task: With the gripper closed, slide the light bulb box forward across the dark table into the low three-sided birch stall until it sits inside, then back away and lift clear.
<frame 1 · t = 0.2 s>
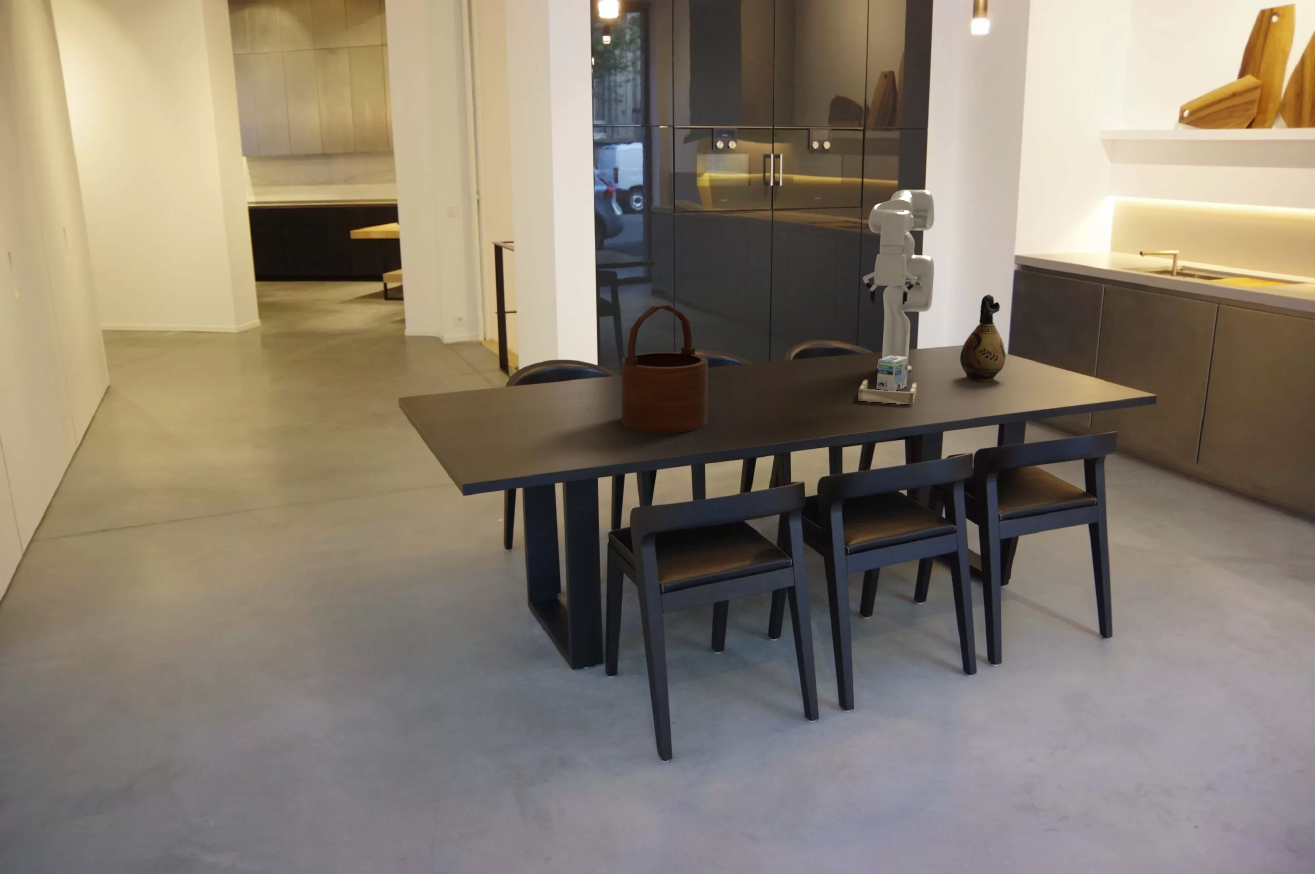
hand: (888, 303, 336), 31 cm above the table, tool pointing down, fingers open, 9 cm apart
wooden bucket: (664, 423, 309), on the table
light bulb box: (891, 389, 353), on the table
ceramic jug: (980, 379, 369), on the table
birch stall: (887, 397, 340), on the table
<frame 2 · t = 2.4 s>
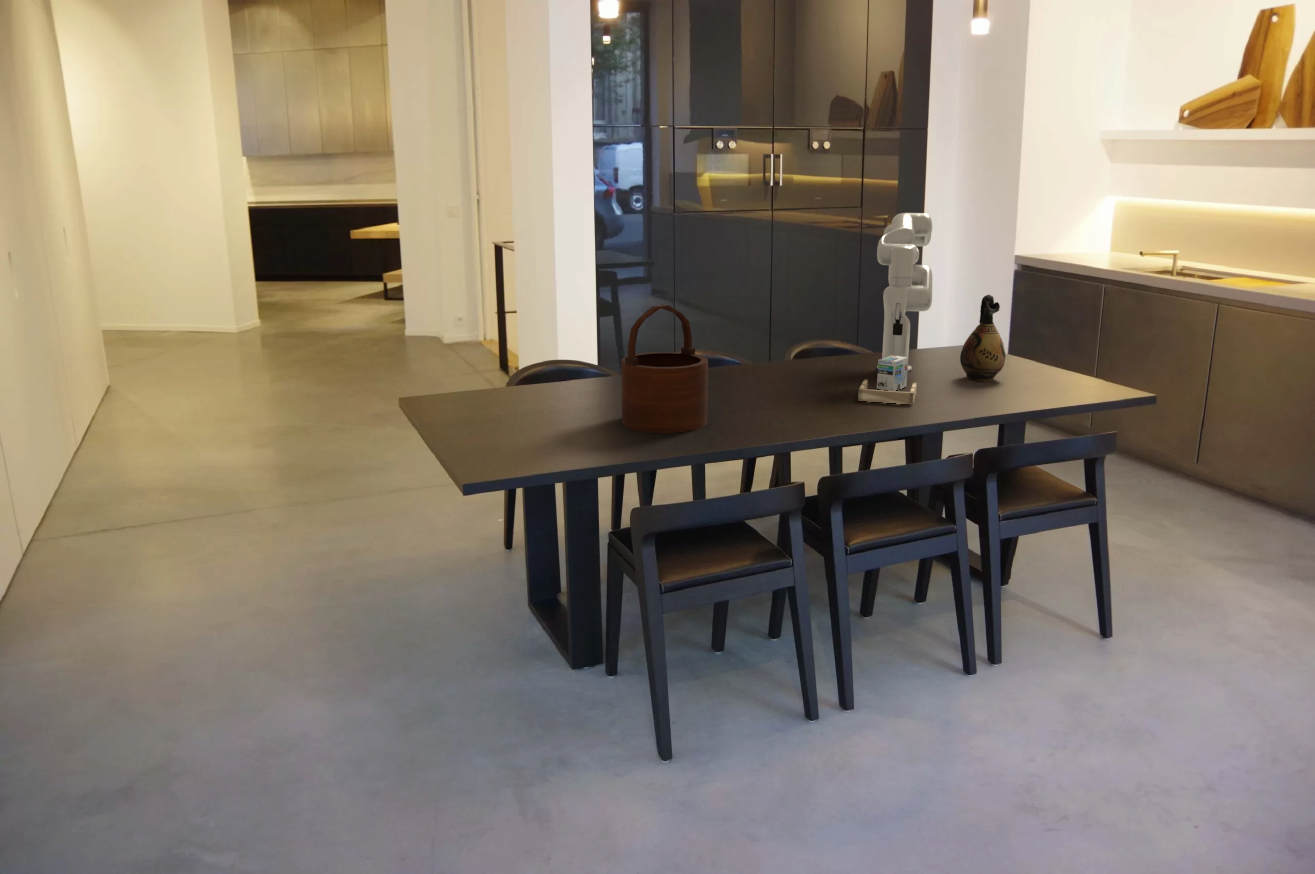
hand: (897, 334, 359), 17 cm above the table, tool pointing down, fingers closed
nothing on the table moved.
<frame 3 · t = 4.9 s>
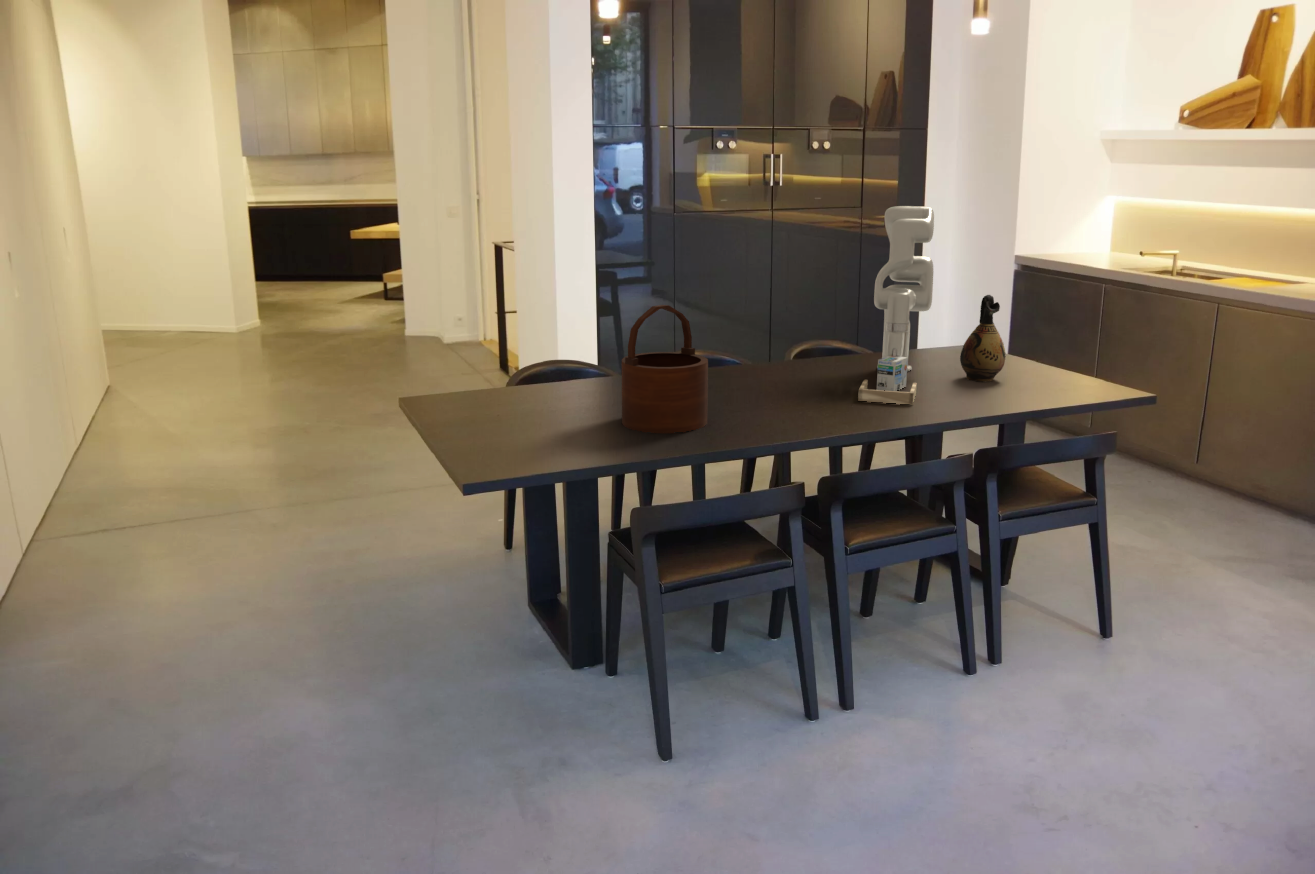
hand: (894, 379, 361), 2 cm above the table, tool pointing down, fingers closed
light bulb box: (891, 389, 353), on the table, touching gripper
everything else where it was.
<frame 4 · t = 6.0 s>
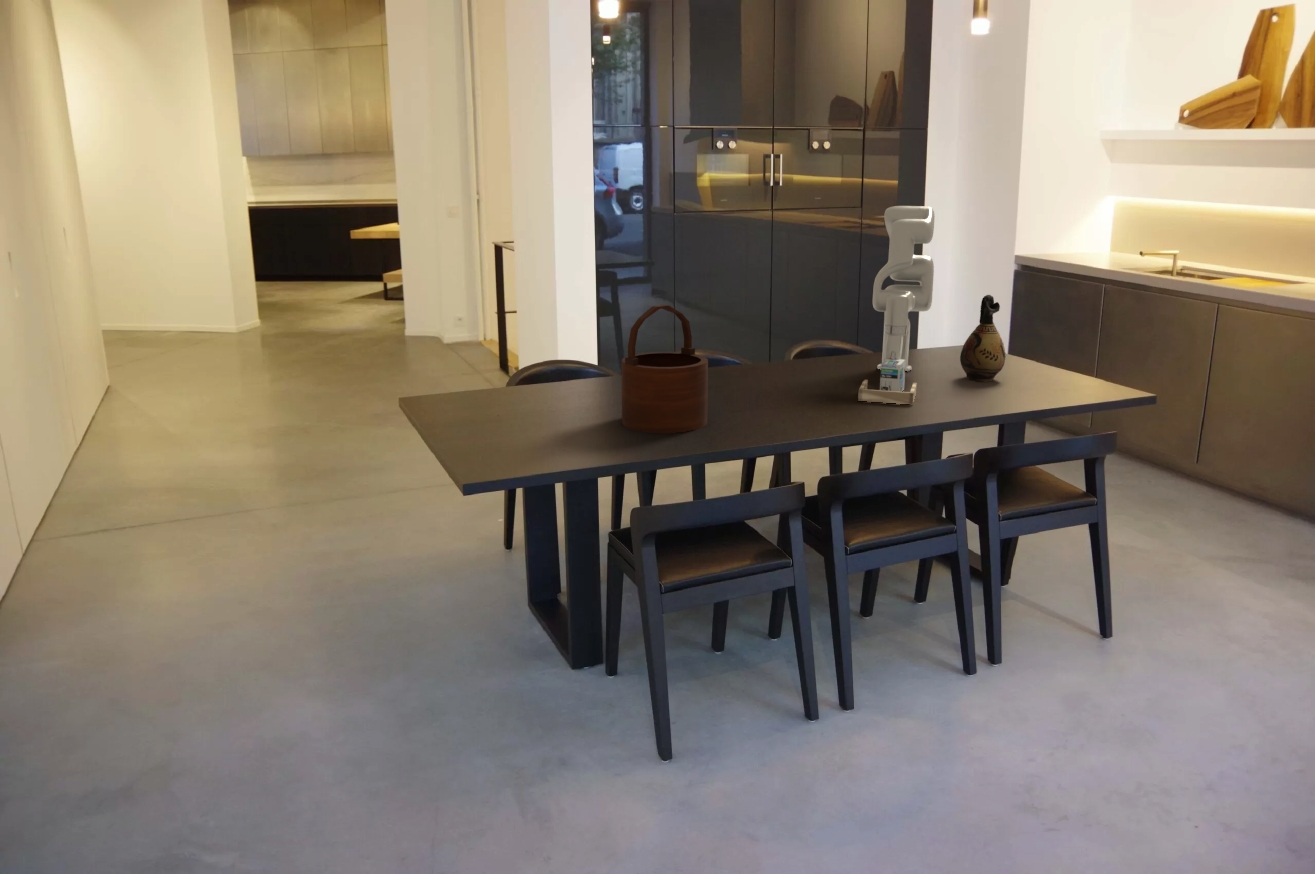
hand: (892, 382, 355), 2 cm above the table, tool pointing down, fingers closed
light bulb box: (891, 393, 348), on the table, touching gripper
everything else where it was.
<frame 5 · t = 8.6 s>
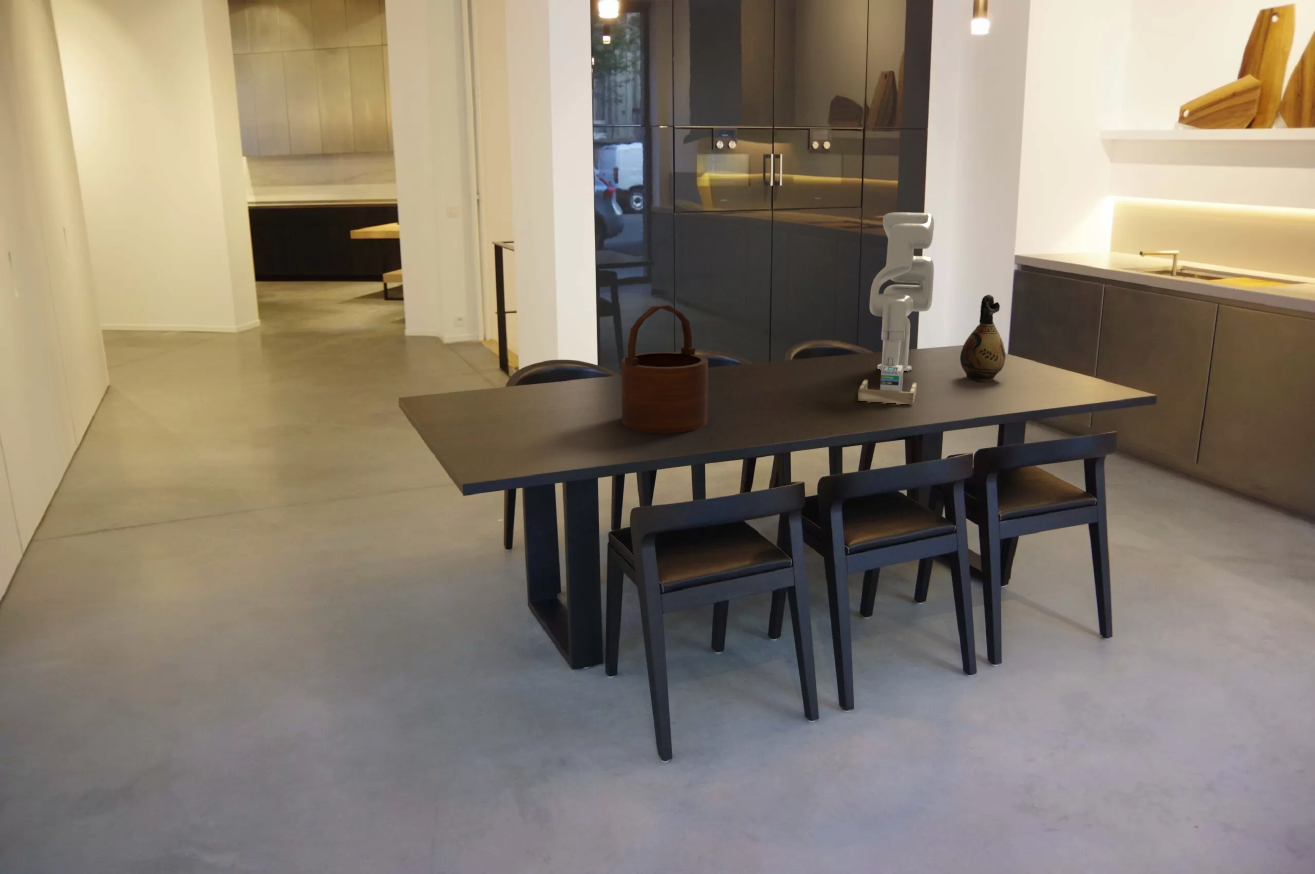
hand: (889, 389, 346), 2 cm above the table, tool pointing down, fingers closed
light bulb box: (890, 399, 338), resting in birch stall, touching gripper
everything else where it was.
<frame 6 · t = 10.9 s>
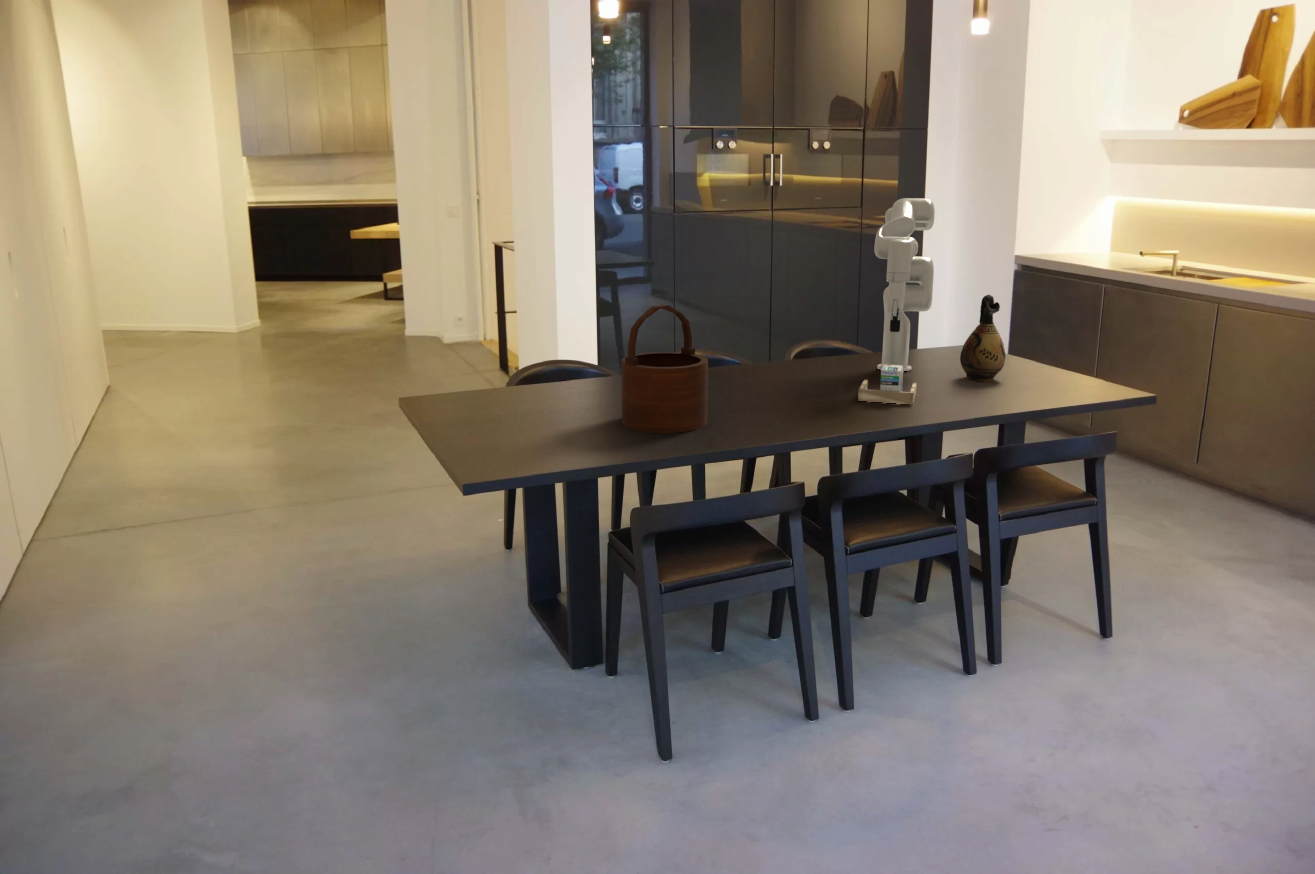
hand: (894, 331, 347), 20 cm above the table, tool pointing down, fingers closed
light bulb box: (890, 400, 338), resting in birch stall
everything else where it was.
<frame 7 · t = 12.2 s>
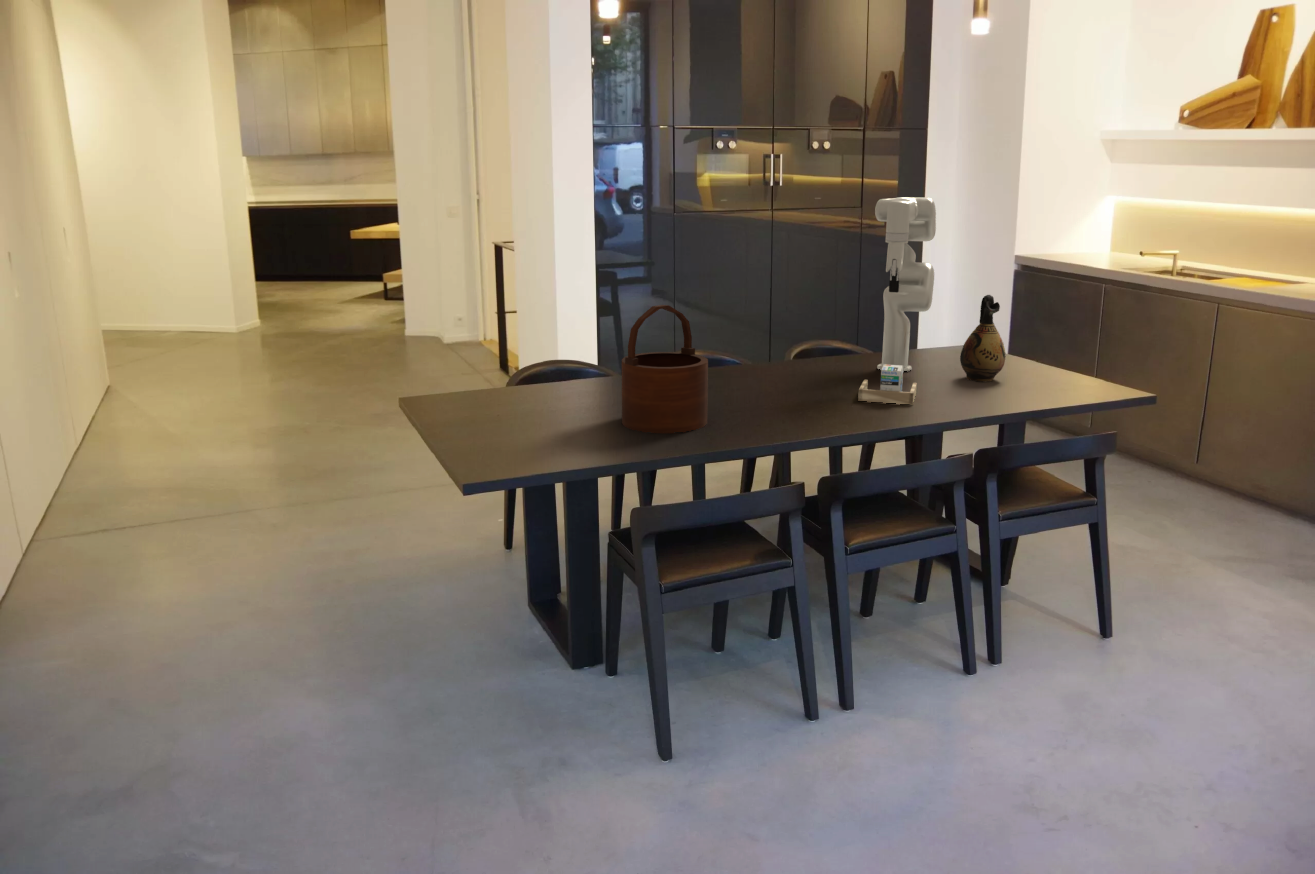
hand: (893, 292, 354), 32 cm above the table, tool pointing down, fingers closed
nothing on the table moved.
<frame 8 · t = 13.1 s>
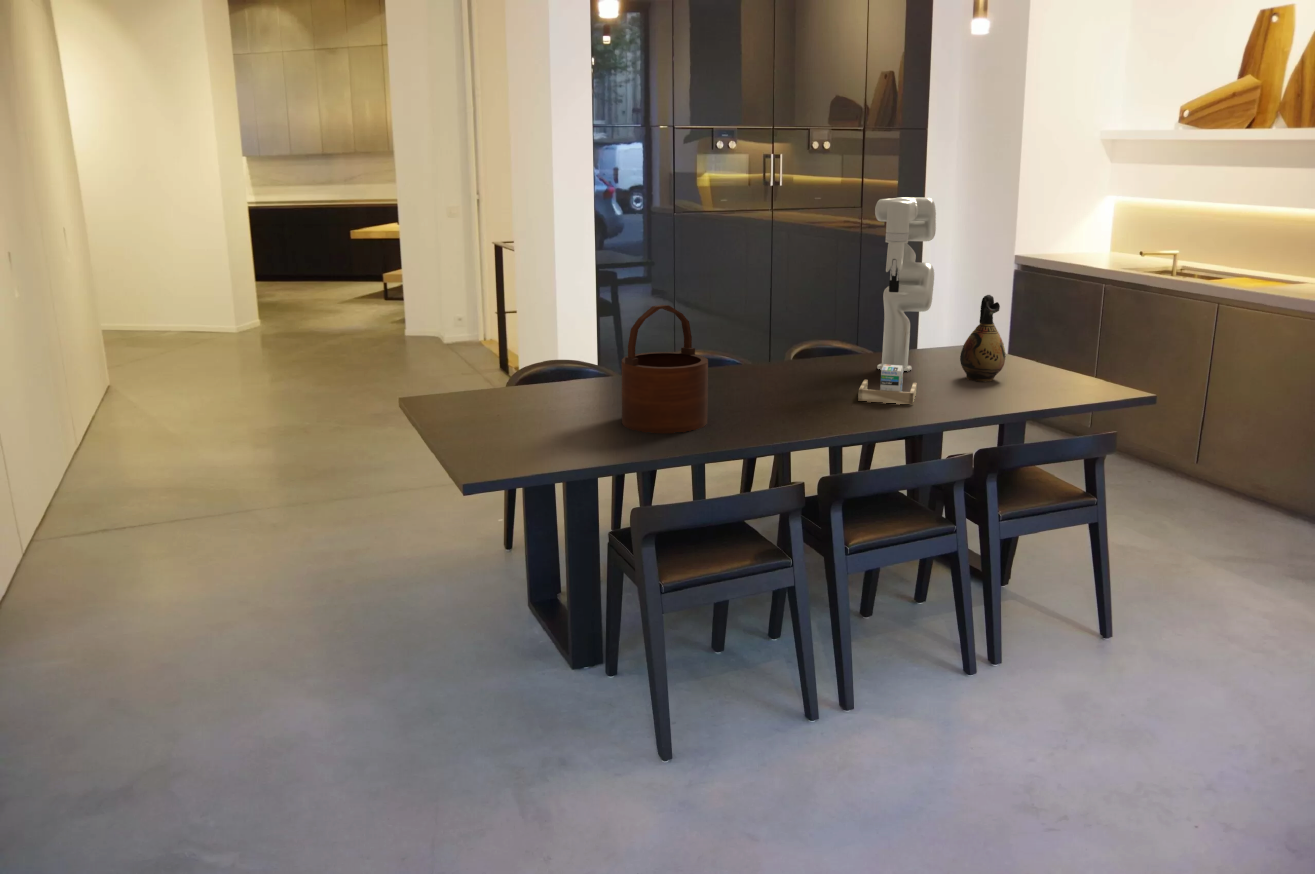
hand: (893, 292, 354), 32 cm above the table, tool pointing down, fingers closed
nothing on the table moved.
at the end: light bulb box inside the target area on the birch stall (2.5 cm from its centre), point 0.0 cm above the birch stall's base; light bulb box tilted 0°; light bulb box moved 16.7 cm from its start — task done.
